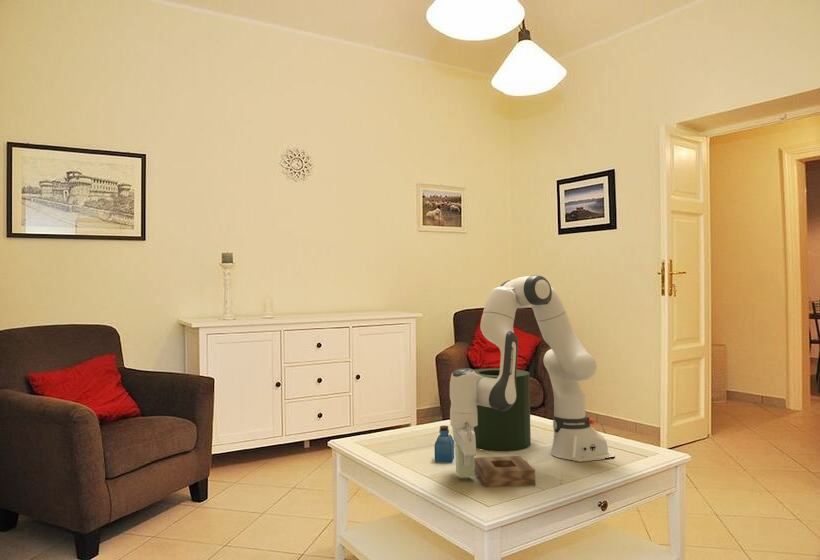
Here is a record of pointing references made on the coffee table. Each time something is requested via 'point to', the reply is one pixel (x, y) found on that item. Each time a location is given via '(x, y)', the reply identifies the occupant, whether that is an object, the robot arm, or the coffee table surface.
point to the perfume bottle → (444, 446)
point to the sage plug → (460, 467)
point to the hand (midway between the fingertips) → (464, 462)
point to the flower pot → (505, 418)
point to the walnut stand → (504, 471)
